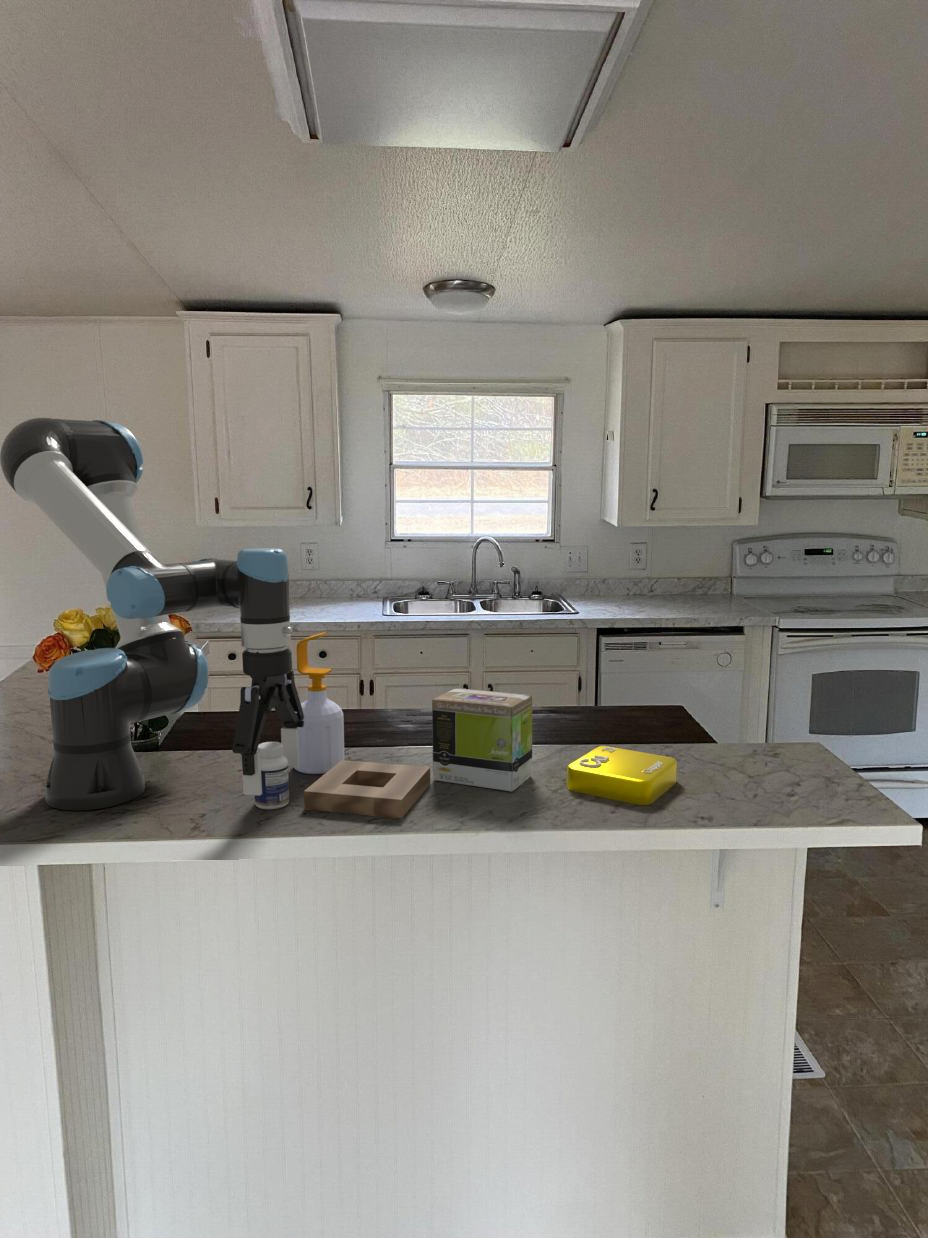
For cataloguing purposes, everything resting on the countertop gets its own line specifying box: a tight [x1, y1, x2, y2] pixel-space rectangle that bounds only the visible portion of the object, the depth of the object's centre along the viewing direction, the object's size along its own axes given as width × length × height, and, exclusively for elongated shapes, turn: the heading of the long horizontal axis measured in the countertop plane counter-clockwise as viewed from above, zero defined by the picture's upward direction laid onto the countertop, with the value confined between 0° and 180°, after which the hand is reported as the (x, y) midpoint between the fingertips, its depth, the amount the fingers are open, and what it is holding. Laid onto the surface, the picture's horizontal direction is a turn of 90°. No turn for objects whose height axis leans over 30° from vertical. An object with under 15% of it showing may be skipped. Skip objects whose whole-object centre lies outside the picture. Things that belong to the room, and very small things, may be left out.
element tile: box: [566, 745, 678, 806], centre depth 149 cm, size 15×15×5 cm
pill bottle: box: [254, 741, 290, 810], centre depth 140 cm, size 5×5×10 cm
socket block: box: [303, 759, 431, 819], centre depth 144 cm, size 16×16×3 cm
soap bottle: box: [294, 631, 345, 775], centre depth 157 cm, size 9×9×25 cm
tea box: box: [431, 687, 533, 793], centre depth 152 cm, size 15×10×15 cm, turn 65°
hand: (272, 780), depth 140 cm, fingers open, 13 cm apart
